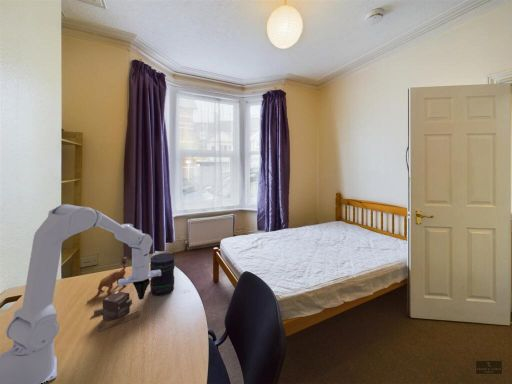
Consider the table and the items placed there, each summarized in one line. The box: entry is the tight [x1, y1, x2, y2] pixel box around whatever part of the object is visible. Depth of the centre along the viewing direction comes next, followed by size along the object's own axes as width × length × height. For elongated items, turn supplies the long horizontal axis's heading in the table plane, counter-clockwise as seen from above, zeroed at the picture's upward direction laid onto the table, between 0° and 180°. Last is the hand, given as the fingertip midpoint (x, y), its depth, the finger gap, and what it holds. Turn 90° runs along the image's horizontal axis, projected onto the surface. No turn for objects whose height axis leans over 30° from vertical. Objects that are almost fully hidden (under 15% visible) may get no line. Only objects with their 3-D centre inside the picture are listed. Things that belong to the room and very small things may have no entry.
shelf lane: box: [93, 298, 140, 332], centre depth 79 cm, size 12×11×2 cm
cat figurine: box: [86, 255, 130, 304], centre depth 92 cm, size 18×7×14 cm, turn 159°
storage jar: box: [149, 252, 176, 297], centre depth 96 cm, size 10×10×15 cm
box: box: [102, 290, 131, 321], centre depth 78 cm, size 6×6×7 cm
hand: (140, 298), depth 84 cm, fingers closed
